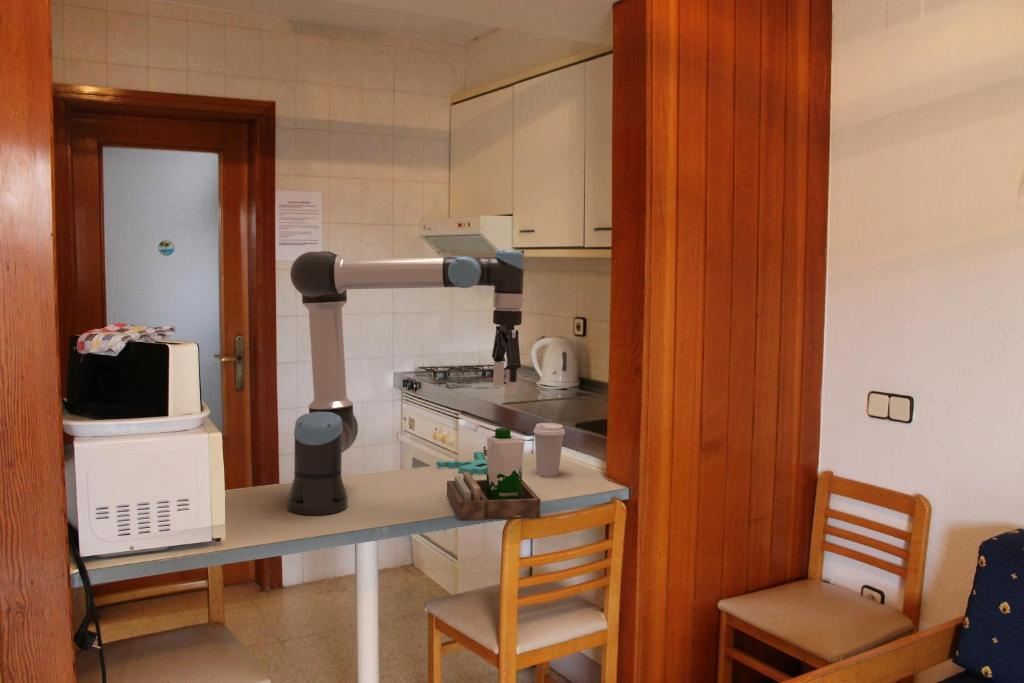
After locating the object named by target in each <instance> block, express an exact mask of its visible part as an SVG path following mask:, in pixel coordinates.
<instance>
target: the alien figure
mask: <svg viewBox="0 0 1024 683" xmlns="http://www.w3.org/2000/svg"><path fill="white" fill-rule="evenodd" d="M486 457H487V456H485V454H484V451H483V452H482V451H475V452H473V460H469V461H465V460H460V461H454V460H449V461H444V460H439V461H436V466H438V467H436V469H440V468H441V467H448V468H447V469H451V470H454V469H457V468H458V473H459V472H460V473H459V474H461V473H463V472H469V473H470V474H474V473H475V474H474V475H476V474H479V475H478V476H480V475H481V476H483V475H482V474H484V475H487V458H486ZM453 468H454V469H453Z"/></svg>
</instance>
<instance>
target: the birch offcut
mask: <svg viewBox="0 0 1024 683" xmlns="http://www.w3.org/2000/svg"><path fill="white" fill-rule="evenodd" d="M462 475H463V476H462V479H463V481H464V482H465V484H466V485H467V487H468V488H469V490H470V491H471V501H475V500H480V489H481V488H480V487H479V485H478V484H477V482H476V481H475V480H476V479H474V477H473V475H471V474H470V473H469V472H463V474H462Z"/></svg>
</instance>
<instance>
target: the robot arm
mask: <svg viewBox="0 0 1024 683" xmlns="http://www.w3.org/2000/svg"><path fill="white" fill-rule="evenodd" d="M524 258H525V256H524V253H523V252H522V251H520V250H507V249H506V250H504V249H503V250H502V249H497V250H496V251H495V254H494V256H492V257H491V256H489V257H486V256H473V255H472V256H468V255H453V256H436V257H435V256H432V257H431V256H429V257H426V256H425V257H418V256H417V257H380V258H379V257H376V258H375V257H374V258H373V257H372V258H370V257H368V258H367V257H366V258H344V257H343V256H342V255H341V254H337V253H335V252H331V251H329V250H327V251H325V250H322V251H306V252H305V253H302V254H301V255H299V256H298V257H297V258H296V259H295V260H294V261H293V263H292V265H291V268H290V271H289V272H290V275H289V276H290V280H291V283H292V285H293V288H294V289H295V290H296V291H297V292H299V293H300V294H301V303H302V305H303V306H304V307H305V308H306V309H307V310H308V318H309V319H308V322H309V339H310V354H311V355H310V356H311V371H312V373H311V374H312V387H313V399H312V401H311V403H310V404H309V405H308V413H304V414H303V415H300V416H299V417H298V418H297V419H296V420H295V423H294V429H293V432H294V433H293V436H294V475H293V476H294V478H293V481H292V484H291V487H290V489H289V492H288V495H287V499H286V509H287V510H288V511H290V513H291V512H292V513H294V514H300V515H306V516H317V515H318V516H323V515H331V514H336V513H340V512H343V511H344V510H346V509H347V508H348V507H349V505H348V504H349V498H348V494H347V491H346V488H345V484H344V480H343V478H342V457H343V456H342V454H343V453H344V452H345V451H347V450H348V449H349V448H351V446H352V445H354V442H355V441H356V439H357V436H358V433H359V423H358V420H357V418H356V416H355V414H354V404H353V402H352V400H351V399H349V398H348V395H347V381H346V380H347V378H346V360H345V344H344V327H343V326H344V325H343V313H342V312H343V307H344V306H345V305H346V304H347V303H348V296H347V294H348V292H347V290H374V289H375V290H376V289H377V290H380V289H381V290H383V289H386V290H387V289H423V288H424V289H425V288H426V289H427V288H429V289H433V288H434V289H435V288H460V289H468V288H471V287H472V288H473V287H474V286H476V287H477V286H481V287H482V286H484V287H485V286H486V287H487V286H488V287H493V288H494V290H493V304H492V306H493V309H494V310H493V313H492V323H493V325H496V326H495V336H494V341H493V348H492V353H491V358H492V360H493V379H492V380H493V382H492V385H493V387H503V386H504V381H505V380H506V381H505V382H506V384H505V394H506V395H518V374H519V369H520V368H521V367H522V365H521V354H520V342H519V330H518V329H515V326H521V325H522V323H523V322H522V320H523V312H522V308H523V301H525V297H524V296H523V290H524V278H525V277H524V275H525V262H524V261H525V260H524ZM505 357H506V358H505ZM505 362H507V365H505ZM505 370H506V379H505ZM504 379H505V380H504Z"/></svg>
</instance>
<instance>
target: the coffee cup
mask: <svg viewBox="0 0 1024 683" xmlns="http://www.w3.org/2000/svg"><path fill="white" fill-rule="evenodd" d="M533 433H534V441H535V442H534V443H535V444H534V445H535V462H536V463H535V464H536V465H535V466H536V475H537V476H539V477H543V478H554V477H555V478H556V477H558V476H559V474H560V473H559V471H560V463H561V457H562V449H563V441H564V435H565V434H566V430H565V429H564V426H563V425H562V424H559V423H554V422H540V423H536V425H535V427H534V428H533Z"/></svg>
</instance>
